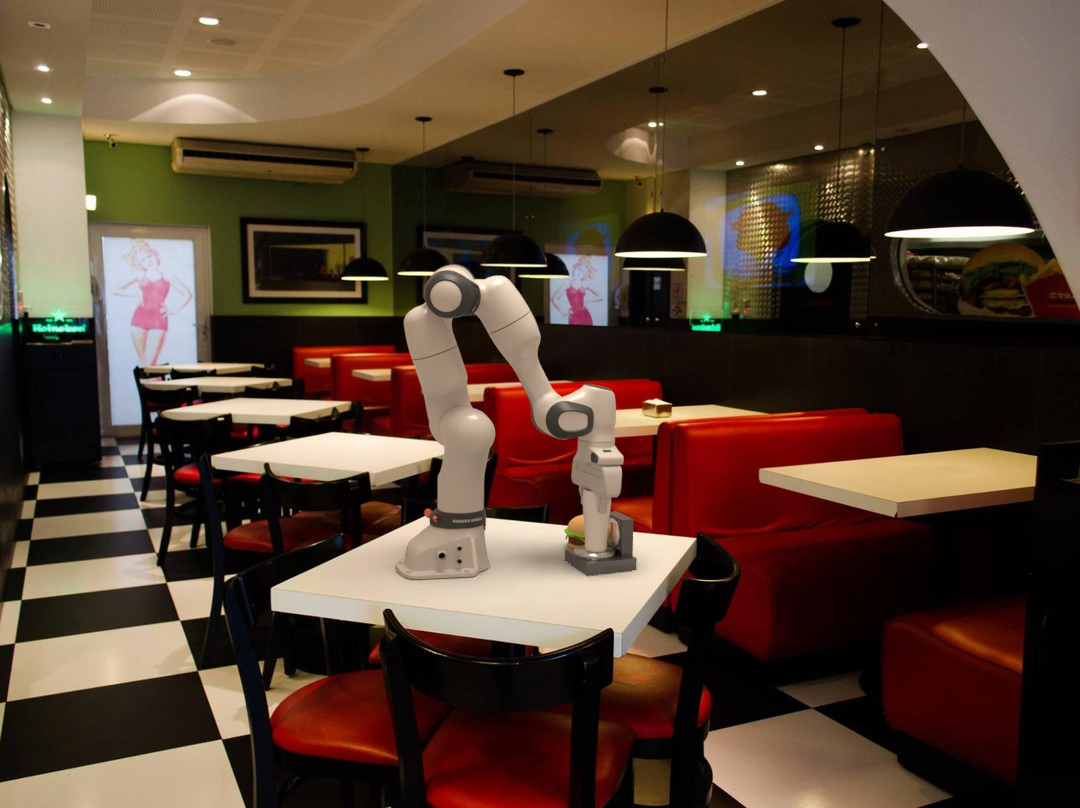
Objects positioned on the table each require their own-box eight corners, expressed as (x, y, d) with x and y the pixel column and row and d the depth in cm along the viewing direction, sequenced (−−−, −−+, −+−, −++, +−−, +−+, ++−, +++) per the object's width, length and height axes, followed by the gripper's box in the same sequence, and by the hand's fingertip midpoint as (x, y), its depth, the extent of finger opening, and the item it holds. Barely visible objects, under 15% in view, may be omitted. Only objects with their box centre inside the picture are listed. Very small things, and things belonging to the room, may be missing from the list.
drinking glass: (578, 552, 203) (579, 490, 201) (585, 545, 209) (586, 485, 208) (606, 555, 201) (607, 492, 199) (612, 547, 207) (613, 487, 206)
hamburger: (619, 547, 223) (619, 515, 222) (589, 556, 214) (590, 523, 213) (584, 539, 231) (584, 508, 230) (554, 547, 222) (555, 515, 221)
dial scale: (587, 576, 198) (588, 525, 196) (564, 560, 210) (565, 513, 208) (636, 570, 202) (637, 521, 201) (611, 556, 214) (612, 509, 213)
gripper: (566, 446, 211) (564, 500, 212) (602, 459, 192) (600, 518, 194) (589, 445, 213) (587, 499, 215) (627, 458, 195) (624, 517, 196)
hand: (593, 508), depth 204 cm, fingers open, 8 cm apart
